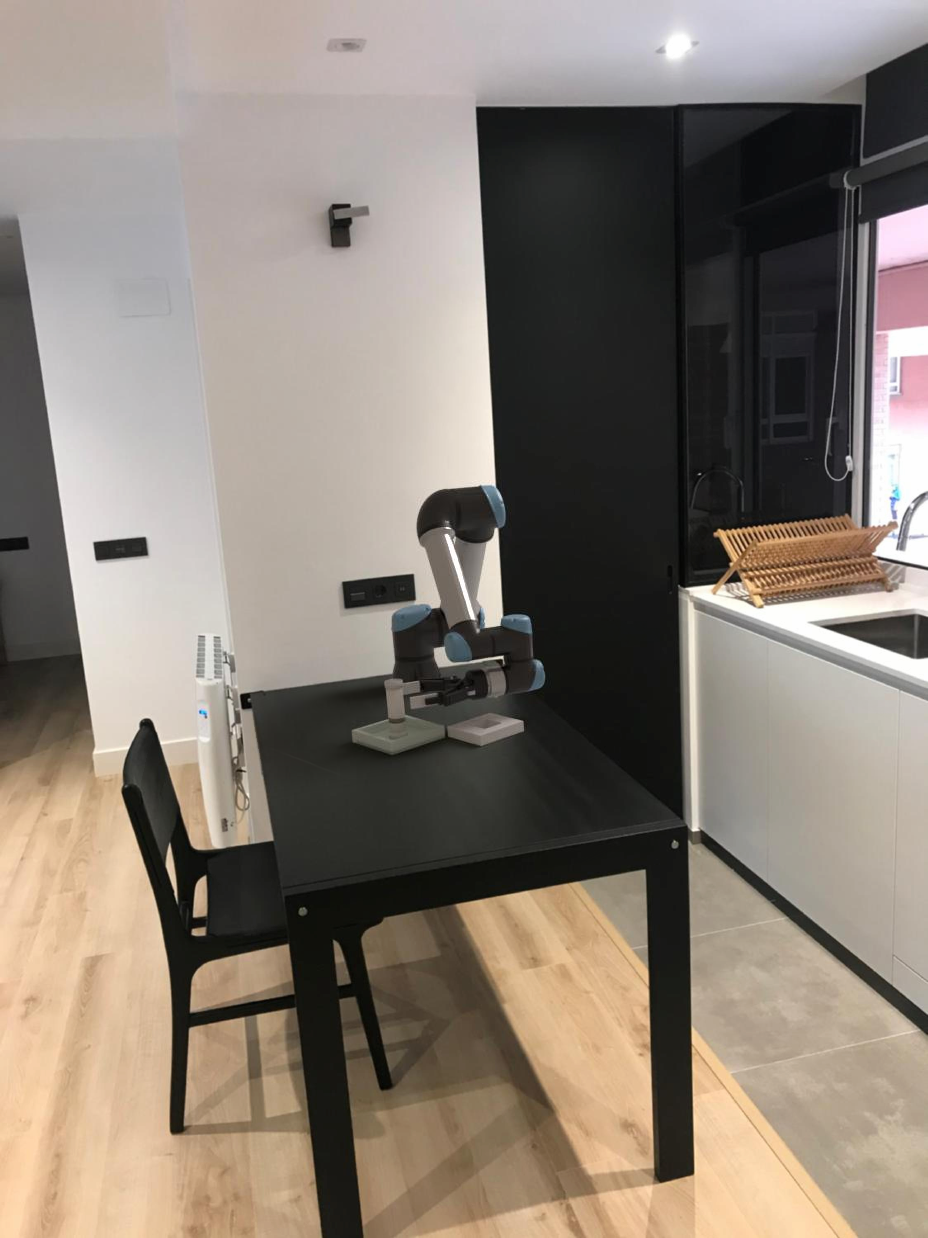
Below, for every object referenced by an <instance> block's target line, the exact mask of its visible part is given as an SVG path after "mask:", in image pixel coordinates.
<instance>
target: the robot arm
mask: <svg viewBox="0 0 928 1238" xmlns="http://www.w3.org/2000/svg"><path fill="white" fill-rule="evenodd" d="M505 524H506V508H505V503H504V500H503V496H502V495H501V492H500V491H499V489H498V488H497V487H496V486H494V485H491V484H490V485H489V484H487V485H485V484H484V485H482V484H479V485H476V486H475V485H474V486H465V487H454V488H442V489H438V490H436V491H434V492H433V493H431V494H430V495H429V496H427V498H426V499H425V500H424V501H423V503H422V505H421V507H420V509H419V511H418V514H417V519H416V525H415V526H416V527H415V528H416V536H417V539H418V543H419V545H420V546H421V547H422V548H424V550H425V552H426V556H427V559H428V562H429V566H430V570H431V573H432V575H433V580H434V582H435V586H436V590H437V592H438V596H439V600H440V604H439V607H433V608H432V607H431V605H430V604H429V603H428V604H427V603H421V604H413V605H408V606H404V607H402V608H399V609H397V610H395V611H394V612H393V613H392V616H391V627H390V628H391V629H390V630H391V633H392V635H391V636H392V643H393V644H392V645H393V646H392V647H393V654H394V657H393V658H394V664H393V668H392V675H391V678H390V679H396V678H397V679H402V680H403V687H402V688H403V696H405V695H412V694H416V693H419V694H422V693H423V692H434V693H428V694H422V695H415V696H409V701H410V702H409V703H410V709H411V710H416V709H420V708H427V707H433V706H438V705H439V706H444V707H449V706H452V705H455V704H457V703H460V702H463V701H465V700H469V699H470V700H471V701H477V700H483V699H484V700H485V699H486V698H494V699H497V698H498V697H499V696H504V695H505V696H506V695H510V694H512V695H513V694H519V693H526V692H531V691H535V690H538V689H540V688H542V687H543V686H544V684H545V680H546V674H545V671H544V665H543V663H542V662H541V660H538V659H534V652H533V650H534V649H533V648H534V647H533V646H534V645H533V630H532V623H531V618H530V617H529V616H528V615H525V614H509V615H506V616H502V617H501V619H500V622H499V623H500V624H499V625H496V626H490V627H486V626H485V625H486V622H485V619H486V616H485V612H484V608H483V607H482V606H481V604H480V603H479V601H478V599H477V597H478V592H479V587H480V581H481V576H482V572H483V571H482V570H483V565H484V559H485V554H486V548H487V544H488V543H489V542H490V541H491V540H492V539H494V534H495V529H498V530H499V529H501V528H502V527H504V526H505ZM454 539H455V540H454ZM438 648H444V652H445V655H446V657H447V660H448V661H449V662H451V663H454V664H455V663H456V664H457V663H470V662H473V661H478V660H482V659H483V660H484V659H493V658H497V657H499V658H500V657H503V658H502V659H503V664H501V665H493V666H485V667H483V668H474V669H469V670H467V671H466V672H465V675H464V678H460V677H458V676H457V675H452V676H442V674H441V671H440V668H439V666H438V664H437V660H436V659H435V658H436V657H435V649H438ZM436 692H437V693H436Z"/></svg>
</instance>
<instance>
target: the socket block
mask: <svg viewBox="0 0 928 1238" xmlns="http://www.w3.org/2000/svg"><path fill="white" fill-rule="evenodd" d="M446 728H447V737H448V738H452V739H455V740H459V741H462V742H466V743H469V744H472V745H475V746H476V745H477V746H479V747H482V746H485V745H488V744H491V743H494V742H496V741H499V740H503V739H505V738H508V737H510V736H514V735H517V734H520V733H522V732H524V731H525V726H524V721H523V720H520V719H516V718H512V717H509V716H505V715H501V714H496V713H491V712H489V713H485V714H482V715H478V716H476V717H474V718H469V719H466V720H464V721H460V722H457V723H455V724H451V725H448V726H447V727H446Z"/></svg>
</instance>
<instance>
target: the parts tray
mask: <svg viewBox="0 0 928 1238" xmlns="http://www.w3.org/2000/svg"><path fill="white" fill-rule="evenodd" d="M405 720H406V721H405V722H406V729H407V736H404V737H401V738H398V739H390V738H389V731H390V729H389V721H388V719H385V720H380V721H378V722H375V723H370V724H368V725H364V726H361V727H358V728H354V729H351V739H352V743H354V744H358V745H360V746H364V747H366V748H369V749H372V750H375V751H378V752H382V753H385V754H387V755H391V756H394V755H397V754H399V753H402V752H405V751H409V750H412V749H416V748H418V747H420V746H423V745H427V744H430V743H433V742H436V741H439V740H442V739H445V738H446V734H445V733H446V732H445V725H443V724H439V723H436V722H432V721H428V720H425V719H421V718H418V717H414V716H410V715H407V714H405Z"/></svg>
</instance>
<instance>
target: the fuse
mask: <svg viewBox="0 0 928 1238" xmlns="http://www.w3.org/2000/svg"><path fill="white" fill-rule="evenodd" d="M383 684H384V689H385V693H386V696H385V697H386V706H387V717H388V721H389V729H390V731H389V738H390V739H398V738H401V737H404V736H407V729H406V722H405V721H406V720H405V715H406V714H405V713H406V712H405V702H404V701H405V700H404V695H403V688H402V687H403V680H402V679H397V678H396V679H391V678H389V679H385V680H384V683H383Z"/></svg>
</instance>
